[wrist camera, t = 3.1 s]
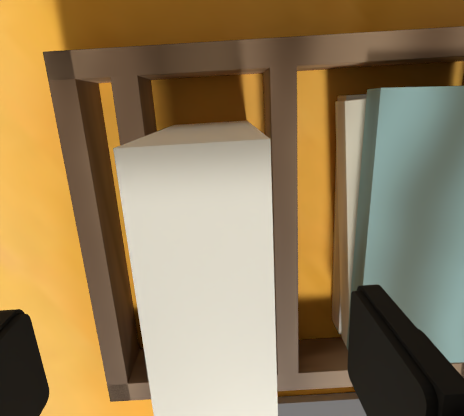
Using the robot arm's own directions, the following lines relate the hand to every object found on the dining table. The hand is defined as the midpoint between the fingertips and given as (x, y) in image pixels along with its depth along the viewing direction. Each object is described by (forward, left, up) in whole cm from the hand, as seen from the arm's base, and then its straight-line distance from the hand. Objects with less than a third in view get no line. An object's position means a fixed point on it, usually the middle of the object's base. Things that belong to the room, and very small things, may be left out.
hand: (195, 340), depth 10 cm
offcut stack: (-10, 0, -11) cm, 15 cm away
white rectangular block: (0, 0, -11) cm, 11 cm away
